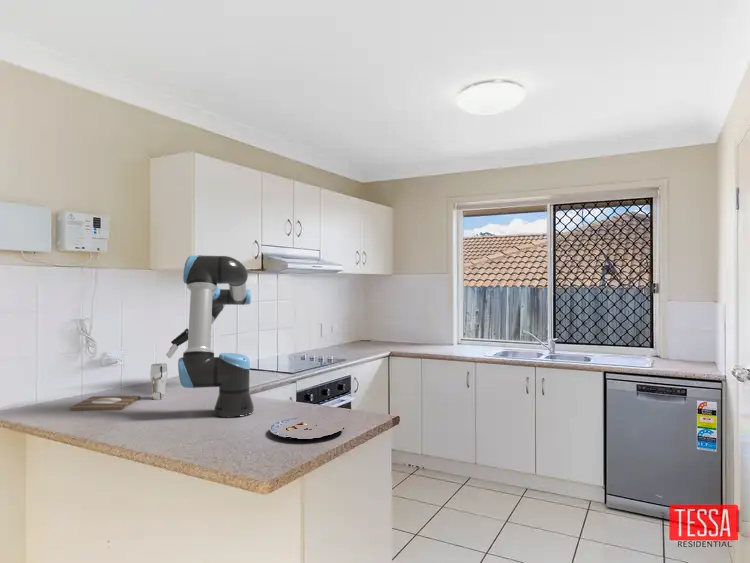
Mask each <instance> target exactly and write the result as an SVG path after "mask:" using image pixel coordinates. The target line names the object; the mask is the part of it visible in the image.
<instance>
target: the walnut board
mask: <svg viewBox="0 0 750 563" xmlns="http://www.w3.org/2000/svg"><path fill="white" fill-rule="evenodd" d="M140 399H141V395H105V396H104V395H103V396H102V395H101V396H100V395H99V396H95V395H93V396H91V397H89V398H86V399H84V400H81V402H78V403H76V404H74V405H71V406H70V407H69V408H68V409H69V411H111V410H112V411H116V410H117V411H119V410H121V411H122V410H124V409H125V408H126V407H128V406H130V405H131V404H133V403H135V402H137V401H138V400H140Z"/></svg>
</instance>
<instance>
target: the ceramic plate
mask: <svg viewBox="0 0 750 563" xmlns="http://www.w3.org/2000/svg"><path fill="white" fill-rule="evenodd" d="M303 417H304V416H303ZM303 417H302V416H301V417H292V418H286V419H283V420H278V421H276V422H275V423H273V424H271V425H270V426H269V431H270V433H271V434H273V435H275V436H277V435H278V437H282V438H286V437H291V436H288V435H284V434H282V433H279V432H278V431H277V428H278V427H279V426H280V425H282V424H284V423H287V422H289V421H291V420H296V419H300V418H303ZM296 425H307V424H306V423H304V422H301V423H298V424H296ZM316 426H317V425H316ZM293 429H298V428H297V427H295V426H292V427H288V428H286V430H287V431H289V430H293ZM304 430H308V428H306V429H304ZM309 430H312V429H309Z"/></svg>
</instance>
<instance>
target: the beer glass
mask: <svg viewBox="0 0 750 563" xmlns="http://www.w3.org/2000/svg"><path fill="white" fill-rule="evenodd" d="M149 376H150V378H149V379H150V383H151V398H150V399H151V400H155V401H159V400H164V399H166V398H167V395H166V386H167V381H168V364H167V363H162V362H161V363H152V364H151V365H150V373H149Z"/></svg>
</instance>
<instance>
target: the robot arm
mask: <svg viewBox="0 0 750 563" xmlns="http://www.w3.org/2000/svg"><path fill="white" fill-rule="evenodd" d="M182 273H183V275H182V276H183V277H182V279H183V283H184V284H186V287H187V289H188V290H189V291H190V296H189V297H190V299H189V317H188V328H185V329H184V330H183V331H182V332H181V333H180V334H179V335H177V336H176V337H175V338H174V339H173V340H171V344H172V345H171V347H170V348H169V350H168V351H167V353H166V354H165V355H166V357H168V359H171V358H173V355H174V354H175V353H176V351H177V350H178V349H179V346H181V345H183V344H184V343H186V342H187V349H186V350H185V351H184V352H183V354H182V357H179V359H178V360H177V368H178V369H177V370H178V378H179V381H180V385H181V387H183V388H185V389H188V388H190V389H197V388H218V395H217V399H216V402H215V405H214V409H213V414H215V415H214V416H215V417H219V416H223V417H222V418H229V417H228V416H240V415H246V414H249V413H252V412H253V411H255V409H254V403H253V400H252V396H251V394H250V393H251V392H250V369H251V366H250V358H249V357H248V356H247V355H244V354H241V353H233V352H222V353H219V355H218V356H216V357H215V352H214V351H213V350H212V349H211V343H212V325H213V324H214V322H215V321H216V319H217V318H218V317H219V315H220V314H221V312H222V311H223V310H224V308H225V306H226V305H233V306H234V305H235V306H238V305H239V306H241V305H242V306H247V305H250V304H251V302H252V291H251V289H247V281H248V270H247V268H246V267H245V265H244V264H243V263H241V262H240V261H239V260H237V259H236V258H234V257H231V256H229V255H201V254H198V255H190V256H188V257H187V258H186V261H185V263H184V268H183V272H182ZM220 284H223V285H224V284H228V288H229V289H226V288H223V289H222V288H219V286H218V285H220ZM253 413H254V412H253ZM253 413H252V414H253ZM246 416H247V415H246Z"/></svg>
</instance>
